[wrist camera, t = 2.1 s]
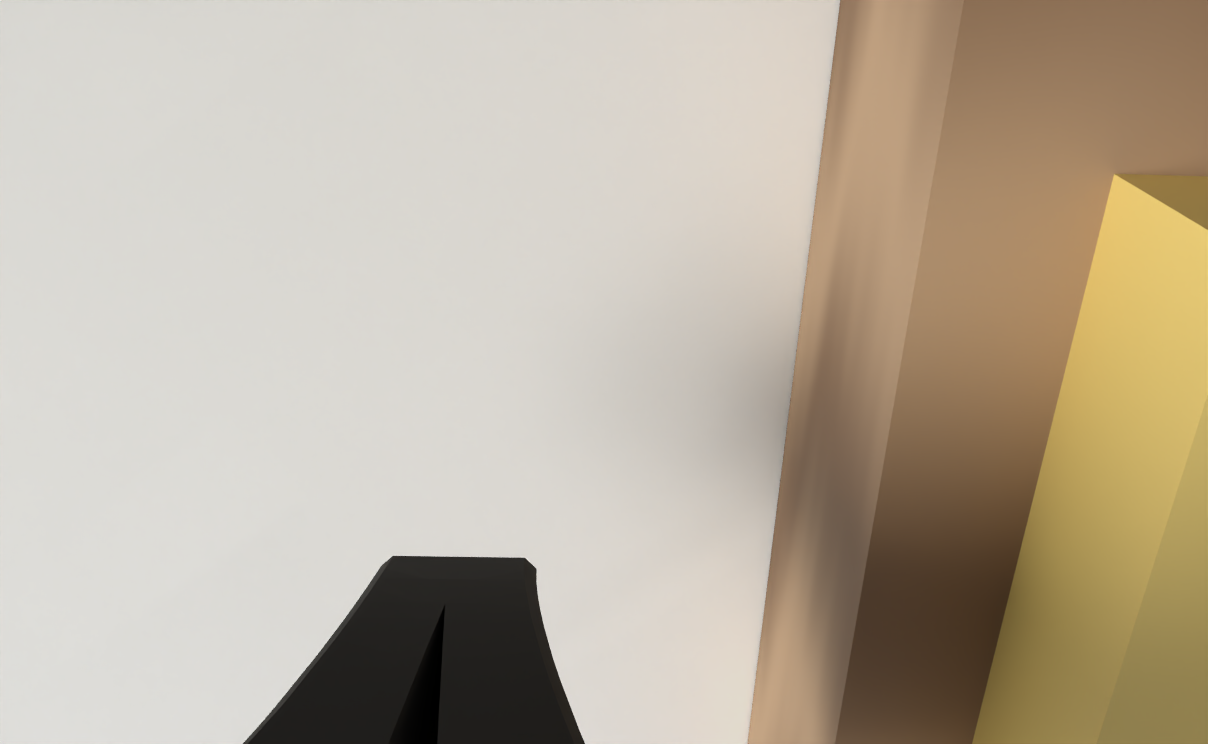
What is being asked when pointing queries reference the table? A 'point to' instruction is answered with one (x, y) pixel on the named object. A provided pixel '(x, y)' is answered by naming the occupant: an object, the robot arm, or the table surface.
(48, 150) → the table surface
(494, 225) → the table surface
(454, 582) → the robot arm
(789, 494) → the brown wooden block
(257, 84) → the table surface
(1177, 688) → the flat yellow block
